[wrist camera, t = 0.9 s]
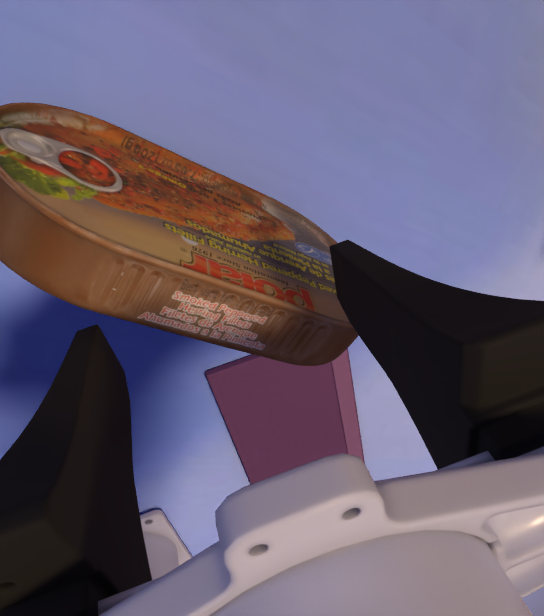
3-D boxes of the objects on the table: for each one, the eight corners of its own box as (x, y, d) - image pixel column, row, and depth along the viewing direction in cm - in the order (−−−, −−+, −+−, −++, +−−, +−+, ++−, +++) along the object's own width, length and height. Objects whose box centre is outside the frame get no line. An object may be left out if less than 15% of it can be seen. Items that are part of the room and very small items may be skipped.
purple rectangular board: (275, 541, 41) (277, 547, 40) (204, 370, 28) (206, 377, 28) (369, 505, 42) (372, 510, 41) (341, 322, 29) (345, 327, 29)
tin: (338, 228, 25) (426, 337, 19) (304, 279, 26) (375, 398, 20) (4, 71, 18) (-44, 161, 11) (-23, 153, 19) (-79, 277, 12)
